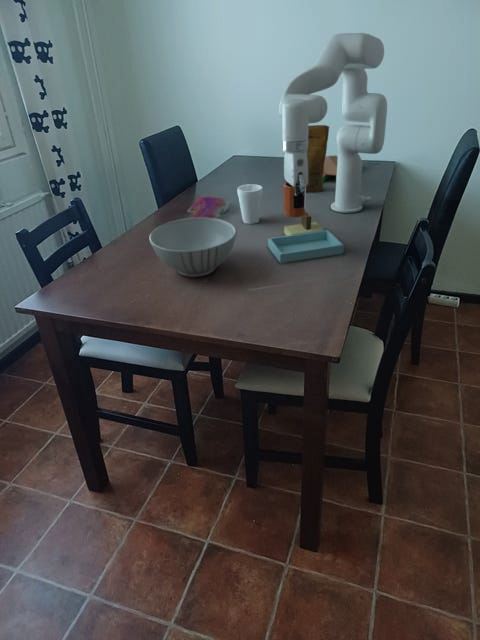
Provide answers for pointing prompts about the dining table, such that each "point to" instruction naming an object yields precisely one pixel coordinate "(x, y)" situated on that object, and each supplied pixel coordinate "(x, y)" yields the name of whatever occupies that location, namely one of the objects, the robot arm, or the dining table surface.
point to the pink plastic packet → (212, 204)
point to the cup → (288, 201)
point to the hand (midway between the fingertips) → (294, 203)
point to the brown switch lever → (306, 221)
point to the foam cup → (250, 202)
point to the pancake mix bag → (316, 156)
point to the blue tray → (305, 246)
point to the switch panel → (301, 229)
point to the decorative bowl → (194, 244)
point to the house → (330, 166)
